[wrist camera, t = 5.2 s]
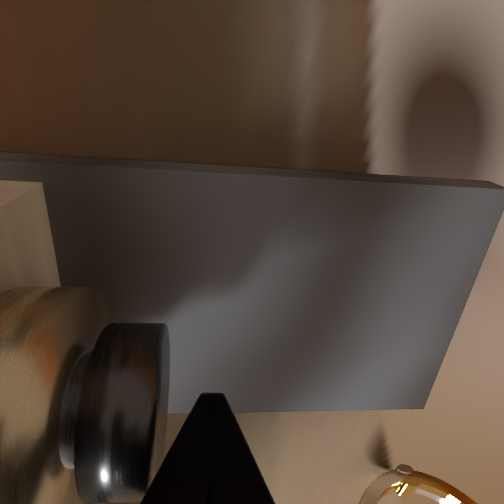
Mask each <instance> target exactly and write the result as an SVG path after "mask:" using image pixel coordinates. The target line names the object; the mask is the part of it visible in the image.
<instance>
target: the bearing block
mask: <svg viewBox="0 0 504 504" xmlns="http://www.w3.org/2000/svg"><path fill="white" fill-rule="evenodd" d="M503 210H504V187H503V186H500V185H497V184H495V183H492V182H489V181H477V180H461V179H445V178H428V177H412V176H395V175H379V174H362V173H345V172H329V171H312V170H295V169H278V168H262V167H245V166H228V165H212V164H195V163H178V162H162V161H145V160H128V159H112V158H95V157H78V156H62V155H45V154H28V153H12V152H0V294H1V293H3V292H4V291H7V290H9V289H12V288H14V287H20V286H47V287H90V288H95V289H96V290H98V291H99V292H100V293H101V294H102V296H103V297H104V299H105V301H106V303H107V306H108V309H109V312H110V317H111V321H112V323H166V324H167V327H168V331H169V341H170V383H169V401H168V414H184V413H190V411H191V410H192V408H193V406H194V404H195V402H196V401H197V399H198V397H199V395H200V394H201V393H203V392H217V393H223V394H224V395H225V396H226V398H227V401H228V403H229V405H230V407H231V409H232V411H233V413H235V412H286V411H337V410H388V409H424V406H425V403H426V401H427V399H428V396H429V394H430V391H431V389H432V386H433V384H434V381H435V379H436V376H437V374H438V372H439V369H440V367H441V364H442V362H443V359H444V356H445V354H446V352H447V349H448V347H449V344H450V342H451V339H452V337H453V334H454V332H455V329H456V327H457V324H458V322H459V319H460V317H461V314H462V312H463V310H464V307H465V304H466V302H467V299H468V297H469V295H470V292H471V290H472V287H473V284H474V282H475V280H476V277H477V275H478V272H479V270H480V267H481V265H482V262H483V260H484V257H485V255H486V252H487V250H488V247H489V245H490V243H491V240H492V237H493V235H494V233H495V230H496V228H497V225H498V223H499V220H500V218H501V215H502V213H503Z"/></svg>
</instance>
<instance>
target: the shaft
mask: <svg viewBox="0 0 504 504" xmlns="http://www.w3.org/2000/svg"><path fill="white" fill-rule="evenodd" d="M169 383H170V341H169V331H168V327H167V324H166V323H112V321H111V317H110V312H109V309H108V306H107V303H106V301H105V299H104V297H103V296H102V294H101V293H100V292H99V291H98V290H96V289H95V288H90V287H47V286H20V287H14V288H12V289H9V290H7V291H4V292H3V293H1V294H0V504H106V503H127V502H141V501H142V499H143V497H144V496H145V494H146V492H147V490H148V488H149V486H150V485H151V483H152V481H153V479H154V477H155V475H156V474H157V472H158V470H159V468H160V466H161V464H162V458H163V451H164V444H165V435H166V425H167V414H168V401H169Z"/></svg>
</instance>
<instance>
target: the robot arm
mask: <svg viewBox="0 0 504 504" xmlns="http://www.w3.org/2000/svg"><path fill="white" fill-rule="evenodd" d="M140 504H275V502H274V500H273V498H272V496H271V494H270V491H269V489H268V487H267V485H266V483H265V481H264V478H263V476H262V474H261V472H260V470H259V468H258V466H257V463H256V461H255V459H254V457H253V455H252V453H251V450H250V448H249V446H248V444H247V442H246V440H245V437H244V435H243V433H242V431H241V429H240V427H239V424H238V422H237V420H236V418H235V416H234V414H233V411H232V409H231V407H230V405H229V403H228V401H227V398H226V396H225V395H224V394H223V393H217V392H203V393H201V394H200V395H199V397H198V399H197V401H196V402H195V404H194V406H193V408H192V410H191V411H190V413H189V415H188V417H187V419H186V421H185V422H184V424H183V426H182V428H181V430H180V432H179V433H178V435H177V437H176V439H175V441H174V443H173V444H172V446H171V448H170V450H169V452H168V454H167V455H166V457H165V459H164V461H163V463H162V464H161V466H160V468H159V470H158V472H157V474H156V475H155V477H154V479H153V481H152V483H151V485H150V486H149V488H148V490H147V492H146V494H145V496H144V497H143V499H142V501H141V503H140Z"/></svg>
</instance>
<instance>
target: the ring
mask: <svg viewBox="0 0 504 504" xmlns="http://www.w3.org/2000/svg"><path fill="white" fill-rule="evenodd" d="M395 492H397V494H398V495H399V496H401V497H405V498H410V497H412V496H413V494H414V493H418V494H421V495H424V496H427V497H429V498H431V499H434V500H436V501H437V502H439V503H441V504H477V503H476V502H475V501H474V500H472V499H471V498H470V497H468V496H467V495H466V494H464V493H462V492H461V491H460V490H458V489H457V488H455V487H453V486H452V485H450V484H448V483H446V482H444V481H442V480H440V479H438V478H436V477H433V476H431V475H428V474H425V473H422V472H418V471H413V469H412V468H411V467H410V466H408V465H403V464H401V465H398V467H397V468H396V470H391V471H388V472H385V473H383V474H381V475H379V476H378V477H376V478H375V479H374V480H373V481H372V483H371V484H370V485H369V486H368V488H367V489H366V490H365V492H364V494H363V495H362V497H361V499H360V501H359V503H358V504H377V502H378V501H379V500H380V499H382V498H383V497H384V496H386V495H388V494H391V493H395Z"/></svg>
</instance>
